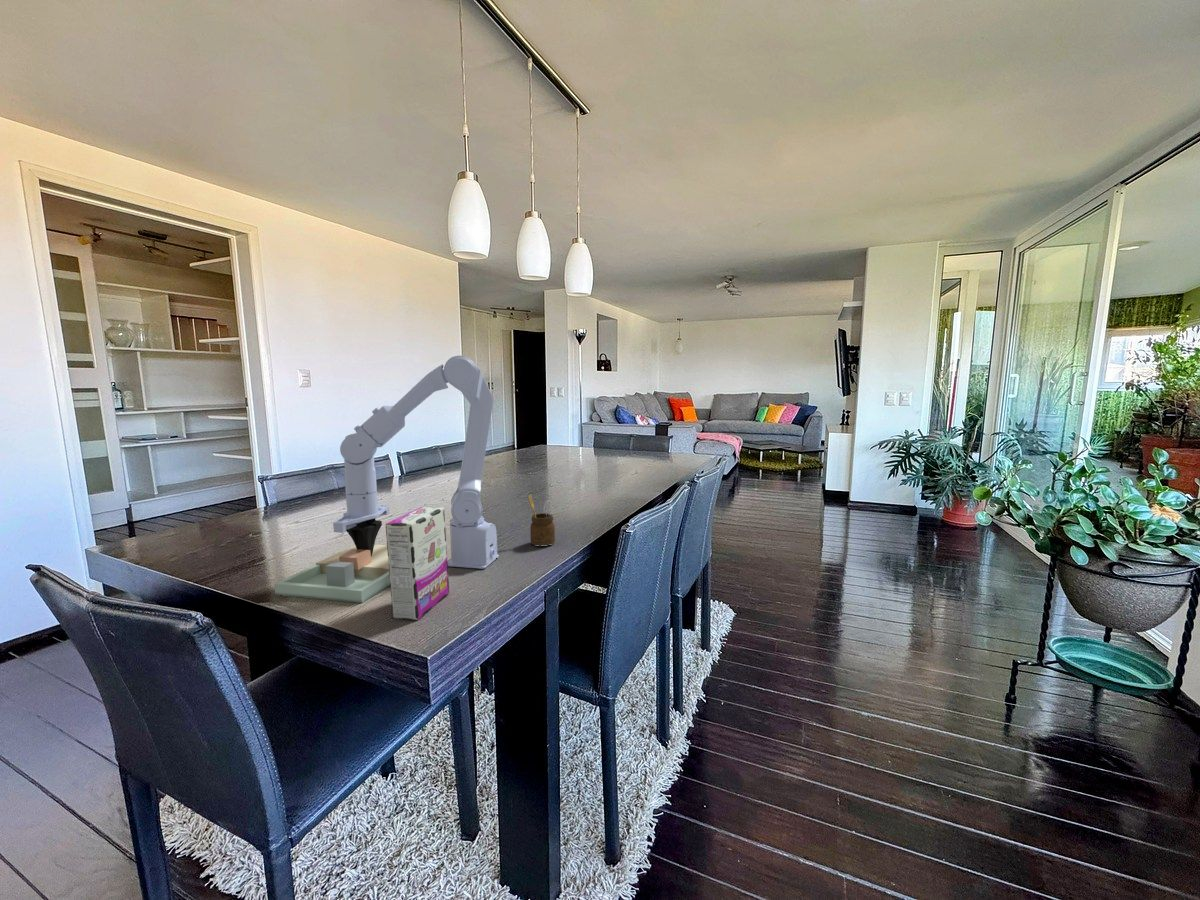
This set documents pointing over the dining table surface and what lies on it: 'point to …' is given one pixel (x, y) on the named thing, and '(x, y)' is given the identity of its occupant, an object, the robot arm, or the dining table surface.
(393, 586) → the candy bar box
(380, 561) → the birch plate
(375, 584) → the sage tray
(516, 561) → the dining table surface
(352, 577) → the slate-grey block
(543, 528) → the utensil holder
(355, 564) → the terracotta block
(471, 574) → the dining table surface
